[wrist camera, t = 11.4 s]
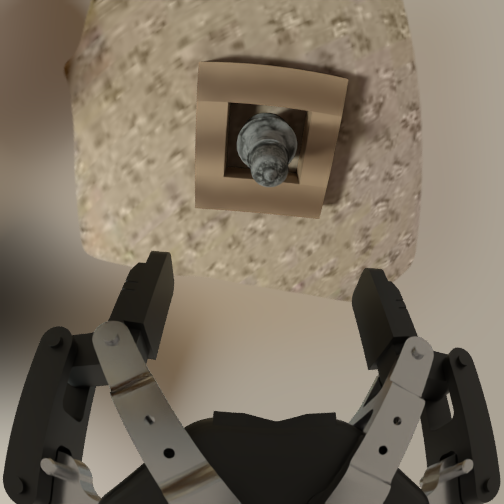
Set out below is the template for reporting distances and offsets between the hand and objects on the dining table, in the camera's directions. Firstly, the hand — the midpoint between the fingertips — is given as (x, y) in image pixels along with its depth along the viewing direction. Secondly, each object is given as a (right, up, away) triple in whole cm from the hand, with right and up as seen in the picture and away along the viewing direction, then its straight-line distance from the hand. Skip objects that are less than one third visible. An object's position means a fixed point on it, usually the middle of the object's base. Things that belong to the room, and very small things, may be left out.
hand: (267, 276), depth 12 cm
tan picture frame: (+1, +13, +18) cm, 22 cm away
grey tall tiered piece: (+1, +14, +18) cm, 23 cm away
